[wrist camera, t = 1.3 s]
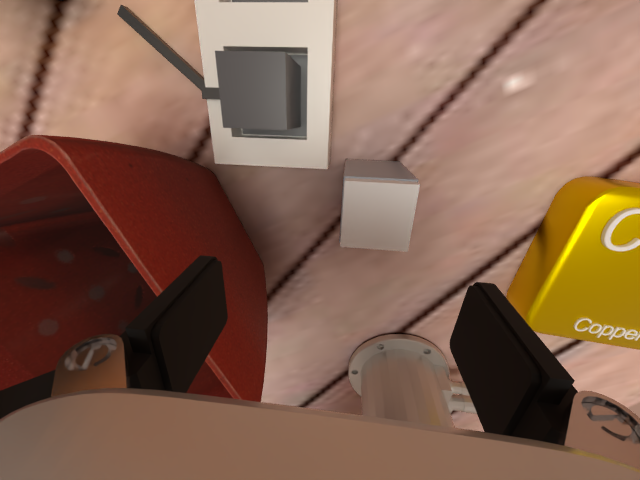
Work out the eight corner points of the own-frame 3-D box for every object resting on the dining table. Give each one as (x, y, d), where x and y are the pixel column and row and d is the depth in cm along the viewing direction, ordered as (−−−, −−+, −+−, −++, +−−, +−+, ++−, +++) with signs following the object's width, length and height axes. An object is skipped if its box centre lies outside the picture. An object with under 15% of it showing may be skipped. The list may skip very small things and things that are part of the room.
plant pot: (222, 118, 26) (36, 124, 11) (304, 283, 32) (262, 433, 17) (78, 190, 30) (-197, 267, 15) (175, 321, 37) (52, 466, 22)
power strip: (343, -150, 18) (339, -280, 12) (329, 163, 26) (323, 178, 20) (90, -139, 20) (-25, -250, 14) (153, 155, 28) (99, 166, 22)
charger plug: (399, 161, 26) (421, 183, 18) (392, 212, 28) (408, 253, 20) (345, 158, 26) (343, 179, 18) (342, 209, 28) (338, 247, 20)
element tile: (497, 304, 31) (521, 334, 27) (563, 171, 25) (607, 183, 21) (634, 326, 31) (681, 361, 26) (737, 196, 24) (820, 214, 20)
